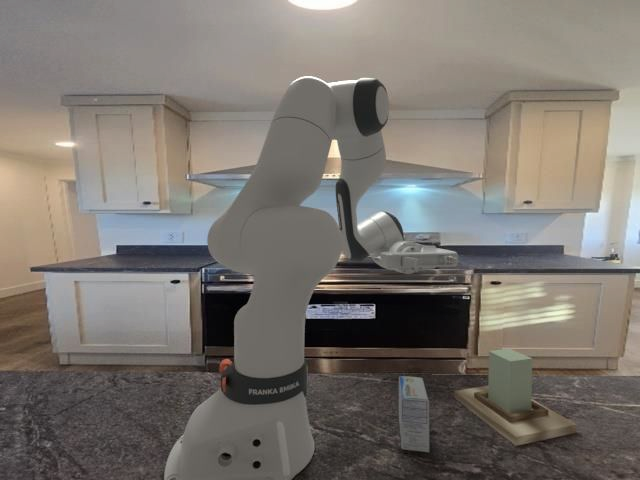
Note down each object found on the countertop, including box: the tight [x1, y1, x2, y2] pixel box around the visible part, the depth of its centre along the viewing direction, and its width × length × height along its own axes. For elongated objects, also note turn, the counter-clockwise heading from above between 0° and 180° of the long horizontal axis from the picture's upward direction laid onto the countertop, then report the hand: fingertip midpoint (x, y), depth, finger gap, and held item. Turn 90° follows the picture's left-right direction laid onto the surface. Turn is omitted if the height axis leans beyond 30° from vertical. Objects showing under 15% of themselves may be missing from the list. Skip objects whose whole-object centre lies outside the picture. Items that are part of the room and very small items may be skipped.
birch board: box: [453, 385, 577, 447], centre depth 59 cm, size 13×15×2 cm
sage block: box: [487, 348, 533, 414], centre depth 59 cm, size 5×5×10 cm
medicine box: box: [398, 375, 430, 453], centre depth 53 cm, size 8×4×9 cm, turn 168°
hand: (437, 262), depth 72 cm, fingers open, 8 cm apart
